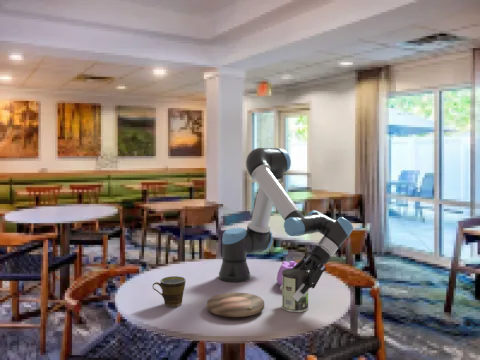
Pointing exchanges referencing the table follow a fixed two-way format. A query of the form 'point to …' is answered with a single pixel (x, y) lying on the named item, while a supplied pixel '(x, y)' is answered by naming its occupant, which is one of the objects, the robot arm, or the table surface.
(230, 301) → the turntable
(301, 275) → the coffee can
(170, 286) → the ceramic cup
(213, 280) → the table surface
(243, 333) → the table surface
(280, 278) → the teapot
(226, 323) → the table surface
